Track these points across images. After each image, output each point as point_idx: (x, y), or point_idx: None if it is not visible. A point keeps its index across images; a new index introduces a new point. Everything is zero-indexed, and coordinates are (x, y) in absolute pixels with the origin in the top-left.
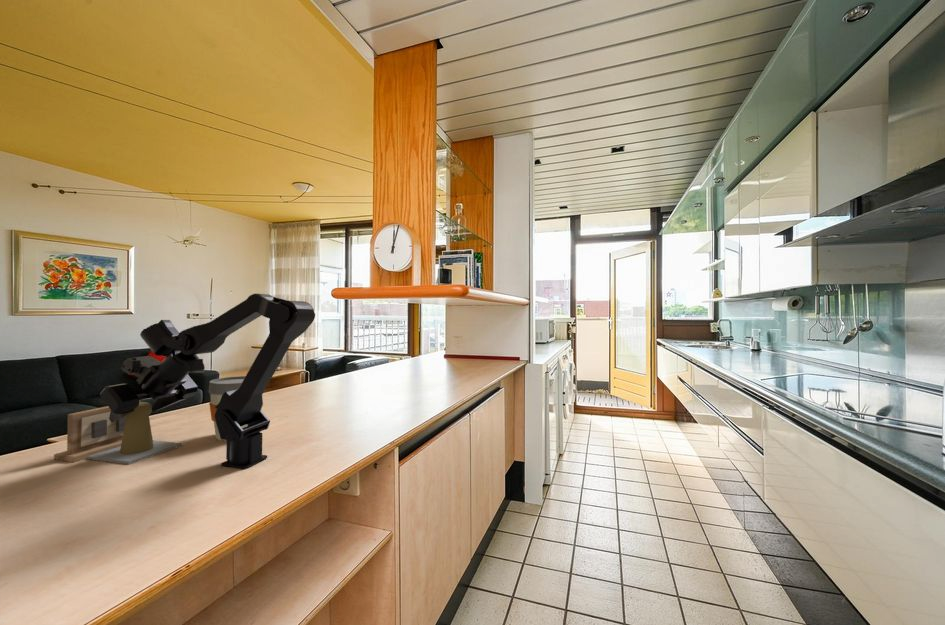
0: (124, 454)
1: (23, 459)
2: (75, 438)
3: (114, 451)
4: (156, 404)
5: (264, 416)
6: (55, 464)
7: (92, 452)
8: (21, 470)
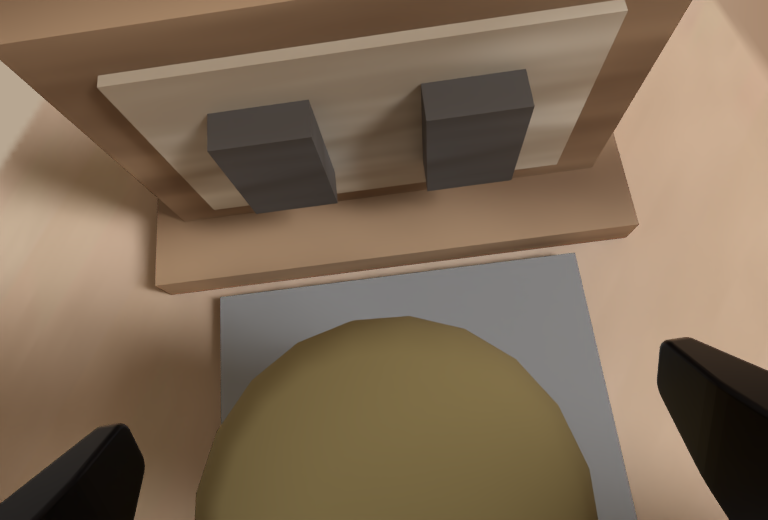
0: None
1: None
2: (152, 174)
3: None
4: (743, 449)
5: None
6: (128, 236)
7: (255, 274)
8: (35, 184)
